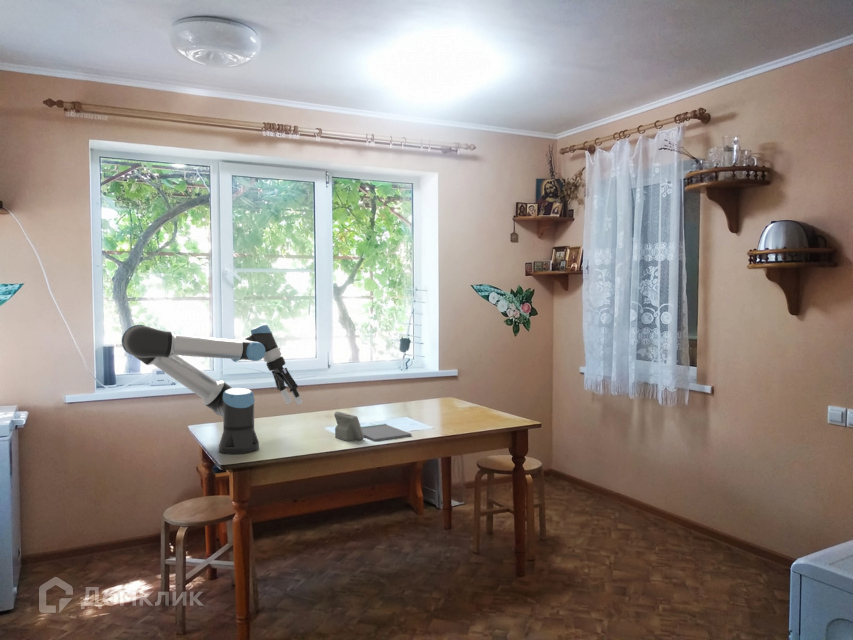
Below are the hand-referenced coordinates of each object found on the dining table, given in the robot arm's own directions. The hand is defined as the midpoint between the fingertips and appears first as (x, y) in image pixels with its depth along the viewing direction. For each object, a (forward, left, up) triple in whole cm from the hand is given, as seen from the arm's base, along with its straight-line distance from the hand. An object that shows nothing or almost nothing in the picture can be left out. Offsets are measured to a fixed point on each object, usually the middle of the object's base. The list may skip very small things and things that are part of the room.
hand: (294, 403), depth 259 cm
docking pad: (+33, -15, -14) cm, 39 cm away
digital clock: (+18, -15, -14) cm, 28 cm away
